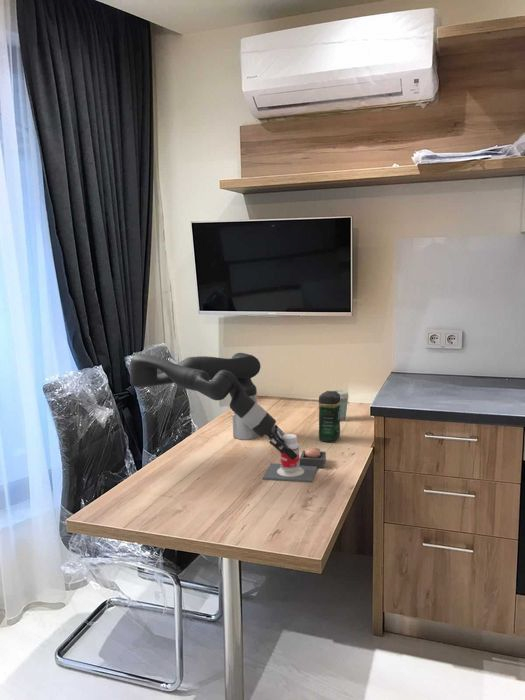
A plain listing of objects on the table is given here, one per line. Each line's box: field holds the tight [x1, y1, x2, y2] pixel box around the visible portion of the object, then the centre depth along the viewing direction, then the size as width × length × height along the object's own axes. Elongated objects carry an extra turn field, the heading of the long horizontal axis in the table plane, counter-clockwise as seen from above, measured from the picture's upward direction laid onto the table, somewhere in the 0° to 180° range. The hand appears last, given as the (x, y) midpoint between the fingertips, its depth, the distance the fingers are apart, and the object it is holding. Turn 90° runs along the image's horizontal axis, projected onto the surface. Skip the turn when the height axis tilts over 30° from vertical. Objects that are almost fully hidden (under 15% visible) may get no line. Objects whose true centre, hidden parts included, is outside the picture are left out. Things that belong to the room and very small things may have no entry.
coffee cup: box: [334, 389, 349, 422], centre depth 251 cm, size 8×9×12 cm
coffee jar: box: [318, 390, 341, 443], centre depth 225 cm, size 10×8×19 cm
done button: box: [304, 446, 321, 458], centre depth 200 cm, size 5×5×2 cm
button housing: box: [299, 450, 327, 469], centre depth 200 cm, size 8×8×3 cm
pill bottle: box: [279, 433, 300, 471], centre depth 191 cm, size 6×6×11 cm
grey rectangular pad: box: [262, 462, 318, 483], centre depth 192 cm, size 16×13×1 cm
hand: (294, 454), depth 191 cm, fingers closed on pill bottle, 6 cm apart
